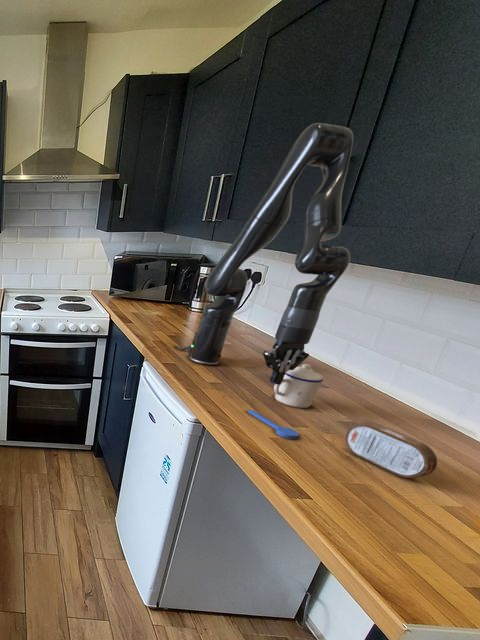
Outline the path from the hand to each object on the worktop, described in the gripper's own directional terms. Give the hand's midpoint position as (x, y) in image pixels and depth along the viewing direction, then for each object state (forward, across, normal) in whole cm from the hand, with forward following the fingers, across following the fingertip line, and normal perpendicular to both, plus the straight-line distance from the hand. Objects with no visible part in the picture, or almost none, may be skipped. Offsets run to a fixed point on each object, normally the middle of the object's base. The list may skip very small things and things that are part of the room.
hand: (274, 383), depth 114 cm
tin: (+7, 0, +30) cm, 31 cm away
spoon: (+7, +10, +13) cm, 18 cm away
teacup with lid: (+6, -7, 0) cm, 9 cm away
